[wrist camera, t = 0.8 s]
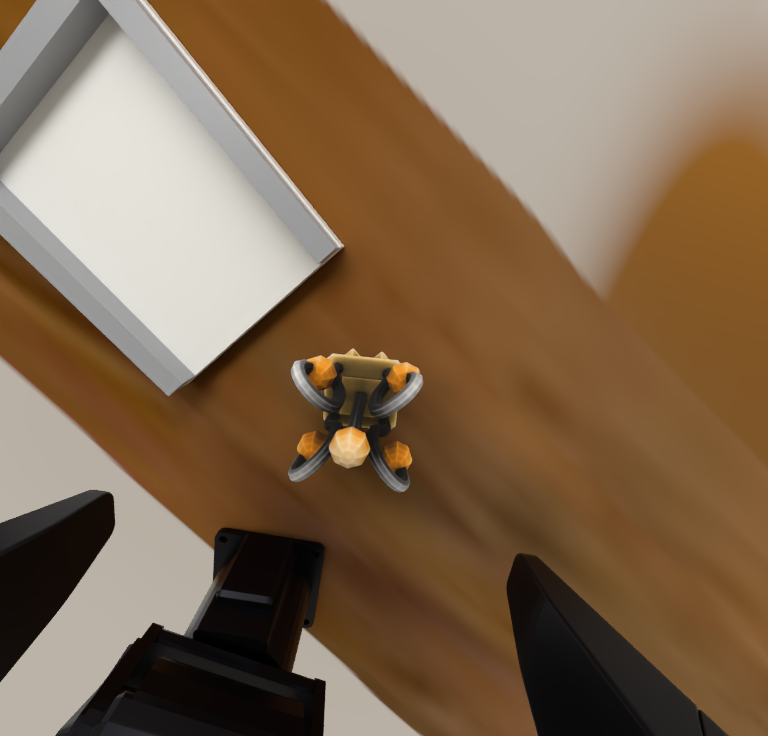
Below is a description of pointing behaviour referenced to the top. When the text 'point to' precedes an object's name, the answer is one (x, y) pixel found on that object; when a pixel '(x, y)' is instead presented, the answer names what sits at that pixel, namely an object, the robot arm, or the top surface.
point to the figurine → (356, 413)
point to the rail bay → (144, 187)
